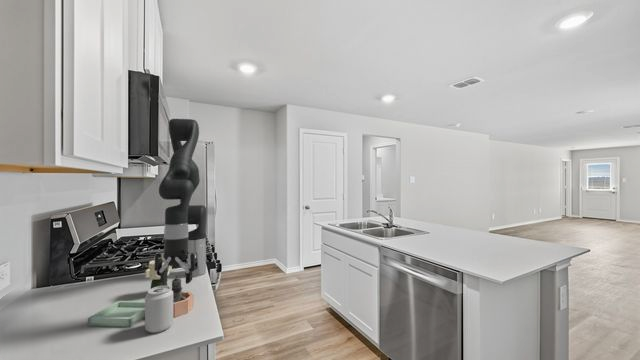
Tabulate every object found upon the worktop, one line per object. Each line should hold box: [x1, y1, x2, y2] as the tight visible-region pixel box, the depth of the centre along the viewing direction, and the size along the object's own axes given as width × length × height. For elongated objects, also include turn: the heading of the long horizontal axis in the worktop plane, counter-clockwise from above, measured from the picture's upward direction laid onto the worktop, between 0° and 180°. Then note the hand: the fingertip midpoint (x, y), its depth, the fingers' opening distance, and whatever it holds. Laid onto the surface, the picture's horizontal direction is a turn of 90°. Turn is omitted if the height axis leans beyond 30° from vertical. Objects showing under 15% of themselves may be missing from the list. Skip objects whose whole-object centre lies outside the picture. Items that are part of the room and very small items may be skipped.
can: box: [144, 285, 174, 334], centre depth 82 cm, size 8×8×12 cm
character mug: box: [144, 258, 173, 290], centre depth 107 cm, size 11×7×13 cm, turn 157°
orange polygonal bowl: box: [173, 290, 195, 319], centre depth 94 cm, size 10×10×4 cm
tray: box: [87, 300, 145, 328], centre depth 89 cm, size 12×14×2 cm
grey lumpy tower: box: [171, 275, 186, 303], centre depth 94 cm, size 6×6×12 cm
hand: (176, 282), depth 93 cm, fingers open, 8 cm apart
